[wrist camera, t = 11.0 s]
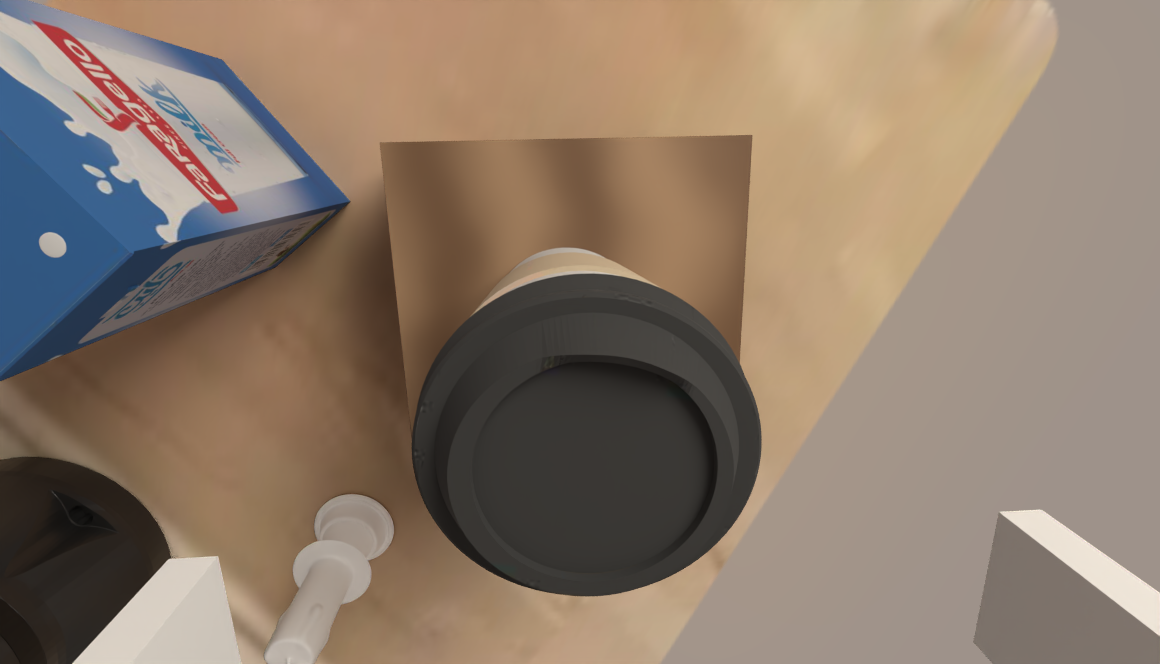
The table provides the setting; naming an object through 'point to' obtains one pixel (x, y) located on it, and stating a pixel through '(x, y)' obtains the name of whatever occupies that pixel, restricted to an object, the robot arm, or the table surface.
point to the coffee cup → (585, 430)
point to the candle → (330, 575)
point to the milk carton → (132, 182)
